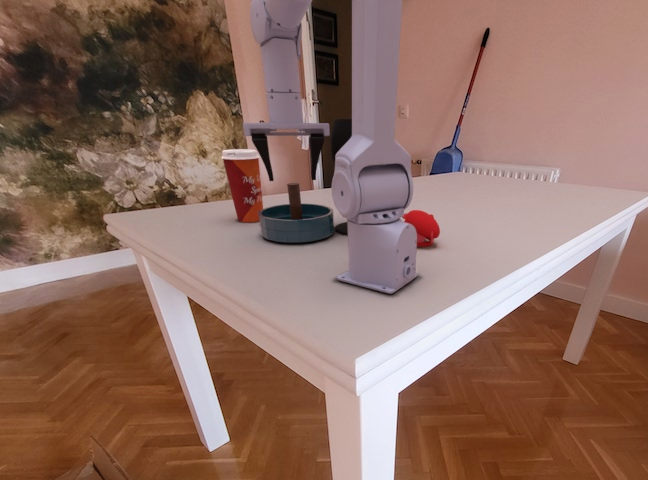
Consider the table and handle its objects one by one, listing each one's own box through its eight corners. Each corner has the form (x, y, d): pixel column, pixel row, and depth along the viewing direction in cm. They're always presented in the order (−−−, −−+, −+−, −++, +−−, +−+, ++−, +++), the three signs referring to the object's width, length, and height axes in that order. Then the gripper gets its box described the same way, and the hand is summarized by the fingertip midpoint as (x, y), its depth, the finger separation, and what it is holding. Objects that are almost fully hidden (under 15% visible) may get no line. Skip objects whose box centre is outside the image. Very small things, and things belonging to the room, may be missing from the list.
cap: (445, 243, 72) (448, 210, 69) (430, 251, 68) (433, 217, 65) (408, 236, 76) (409, 205, 72) (392, 243, 71) (393, 211, 68)
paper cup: (258, 224, 82) (247, 152, 74) (226, 222, 83) (211, 151, 76) (274, 216, 88) (265, 149, 81) (244, 214, 89) (233, 148, 82)
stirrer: (312, 231, 76) (308, 183, 72) (299, 235, 73) (293, 186, 69) (297, 227, 78) (292, 181, 73) (283, 232, 75) (277, 184, 70)
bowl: (348, 231, 78) (347, 209, 76) (301, 249, 68) (298, 224, 65) (296, 221, 84) (294, 200, 82) (246, 237, 74) (242, 213, 71)
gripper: (324, 94, 68) (329, 175, 75) (240, 92, 65) (253, 177, 72) (328, 93, 62) (333, 181, 70) (236, 91, 59) (251, 183, 66)
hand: (292, 179), depth 71 cm, fingers open, 7 cm apart
